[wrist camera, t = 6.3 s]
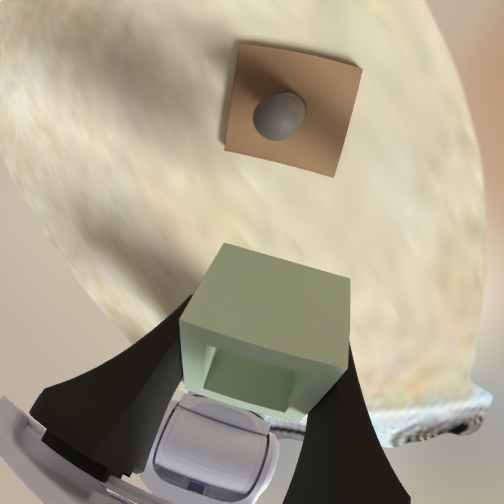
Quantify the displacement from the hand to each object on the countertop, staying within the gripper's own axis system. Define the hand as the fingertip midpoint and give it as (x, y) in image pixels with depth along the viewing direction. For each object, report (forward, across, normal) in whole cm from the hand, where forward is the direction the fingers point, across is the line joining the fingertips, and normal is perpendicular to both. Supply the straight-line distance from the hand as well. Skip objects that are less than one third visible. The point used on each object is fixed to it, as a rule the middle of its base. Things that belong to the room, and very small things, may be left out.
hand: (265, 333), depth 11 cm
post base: (+10, +2, -7) cm, 13 cm away
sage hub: (+2, 0, 0) cm, 2 cm away
